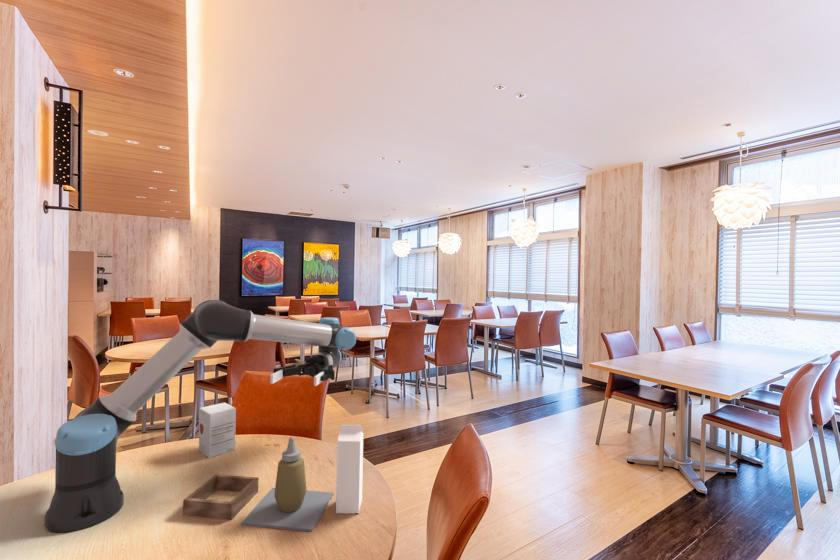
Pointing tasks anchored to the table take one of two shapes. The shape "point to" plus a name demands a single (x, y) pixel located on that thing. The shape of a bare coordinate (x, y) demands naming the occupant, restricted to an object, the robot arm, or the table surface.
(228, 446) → the supplement box
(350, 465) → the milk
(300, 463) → the squeeze bottle
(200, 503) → the walnut tray
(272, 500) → the slate mat
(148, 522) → the table surface
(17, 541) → the table surface
